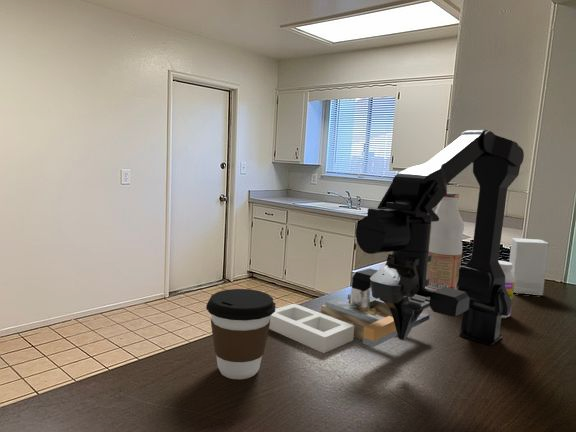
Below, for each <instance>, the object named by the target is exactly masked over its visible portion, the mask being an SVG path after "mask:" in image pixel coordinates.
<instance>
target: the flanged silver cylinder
mask: <svg viewBox="0 0 576 432" xmlns="http://www.w3.org/2000/svg"><path fill="white" fill-rule="evenodd" d="M355 273H356V272H353V273H352V276H353V275H354V274H355ZM350 292H351V293H350V294H351V303H350V304H351V305H354V306H357V310H359V311H362V312H364V313H367V314H370V315H373V316H376V309H375V308H373V307H371V306H369V305H370V297H371V294H372V291H371V286H370V288H369V289H368V290H367V291H361V290H358V289H354V288H352V287H351V291H350Z"/></svg>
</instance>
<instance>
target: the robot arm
mask: <svg viewBox="0 0 576 432" xmlns="http://www.w3.org/2000/svg"><path fill="white" fill-rule="evenodd" d="M524 154H525V153H524V150H523V148H522V147H521V145H519V144H518V142H516V141H513V140H512V139H509V138H506V137H502V136H500V135H497V134H495V133H494V132H493V131H490V130H488V129H472V130H470V129H469V130H465V131H463V132H461V133H460V134H459V136H458V138H456V139H455V140H454V141H453V142H451V143H450V144H448V145H447V146H446V147H445V148H444V149H442V150H441V151H440V152H438V153H437V154H436V155H434V156H433V157H432V158H430V159H429V160H428V161H426V162H424V163H421V164H419V165H413V166H410V167H408V168H406V169H403V170H400V171H399V172H398V173H396V175H394V176H393V178H392V182H391V183H390V185H389V187H388V189H387V191H386V192H385V193H384V195H383V197H382V199H381V201H380V203H378V206H377V207H376V208H374V207H368V209H367V214H366V215H367V216H364V217H363V218H361V219H360V221H359V222H358V225H357V227H356V228H355V238H356V239H355V240H356V243H357V245H358V247H359V248H360V249H361V250H362V251H363V253H365V254H369V255H373V254H382V253H388V255H387V257H386V263H385V265H384V266H383V267H380V268H379V269H378V270H377V269H374V268H366V269H362V270H358V271H355V272H354V273H355V274H354V275H353V274H352V276H351V289H352V288H354V289H358V290H361V291H367V290H368V289H369V288H370V286H371V297H373V298H376V299H380V300H381V301H383V302H385V303H386V305H387V306H388V307H389V308H390V311H391V313H392V316H393V320H394V323H395V327H396V331H397V334H398V335H397V338H398V339H399V340H401V341H405V340H406V339H407V338H408V336H409V334H410V332H411V330H412V329H413V328H414V327H413V325H414V324H415V322H416V320H417V318H418V317H419V315H420V314H421V313H422V312H424V310H426V309H427V308H430V309H431V310H432V311H433V312H434V313H438V314H440V315H444V316H447V317H453V318H454V317H457V316H459V315H461V321H460V322H461V323H460V332H459V336H460V337H464V338H467V339H469V340H473V341H475V342H479V343H483V344H485V345H489V346H493V345H495V344H496V343H497V342H498V341H500V340H501V339H502V338H503V335H502V334H501V324H502V318H501V317H502V315H504V316H508V313H509V312H510V310H511V311H512V308H511V306H513V300H512V301H511V299H510V296H509V294H508V292H507V290H506V288H505V274H504V272H503V270H502V268H501V266H500V264H499V262H498V260H499V257H500V248H501V242H502V241H501V240H502V234H503V226H504V217H505V210H506V209H505V208H506V202H507V195H508V194H507V193H508V188H509V187H510V186H511V185H512V184H513V182H514V181H515V180H516V179H517V178H518V176H519V175H520V169H521V165H522V164H523V162H524V156H525V155H524ZM471 164H472V174H473V175H474V177H475V179H476V182H477V184H478V185H479V189H478V190H479V192H478V200H477V208H476V215H475V224H474V230H473V233H474V234H473V240H472V249H471V257H470V259H469V260H468V261H467V262H466V264H465V265H461V266H460V269H459V278H458V282H457V289H458V290H456V289H452V288H448V287H444V288H441V289H439V290H436V291H433V290H429V289H426V288H425V286H428V285H429V279H426V275H427V264H428V262H430V261H431V257H432V255H428V254H429V244H430V233H431V222H435V221H439V217H438V216H437V214H435V211H434V210H433V209H434V208H435V209H436V208H437V207H438V204H439V202H440V201H441V200H442V198H443V197H444V196H445V195H446V194H447V192H448V184H449V183H450V182H451V181H452V180H453V179H455V178H456V177H457V176H458V175H459V174H461V173H462V172H463V171H464V170H465V169H467V168H468V167H469V166H470V165H471ZM390 252H391V253H390ZM412 327H413V328H412Z"/></svg>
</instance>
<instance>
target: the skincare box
mask: <svg viewBox="0 0 576 432" xmlns="http://www.w3.org/2000/svg"><path fill="white" fill-rule="evenodd" d="M549 246H550V243H549V242H547V241H545V240H543V239H536V238H520V237H519V238H518V237H511V243H510V253H509V261H508V262H510V263H512V269H511V272H510V273H511V274H512V275H514V277H515V285H514V292H515V293H525V294H533V295H543V296H544V288H545V280H546V272H547V271H546V269H547V263H548V262H547V261H548V254H549V253H548V252H549Z"/></svg>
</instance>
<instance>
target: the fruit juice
mask: <svg viewBox="0 0 576 432" xmlns="http://www.w3.org/2000/svg"><path fill="white" fill-rule="evenodd" d="M459 198H460V194H459V193H457V192H449V191H447V194H446V195H445V196H444V197H443V198H442V200H441V201H440V202H439V203H438V205H437V206H436V208H435V210H434V213H435V214H437V216H438V217H439V221H435V222H431V233H430V244H429V254H428V255H432V257H431V261H430V262H428V264H427V275H426V279H429V285H428V286H425V288H426V289H429V290H433V291H436V290H439V289H441V288H444V287H448V288H452V289H456V290H458V289H457V282H458V278H459V269H460V267H461V266H462V265H461V264H462V256H463V241H462V236H463V233H464V229H465V223H464V220H463V219H462V217H461V214H460V210H459V205H458V200H459Z"/></svg>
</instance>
